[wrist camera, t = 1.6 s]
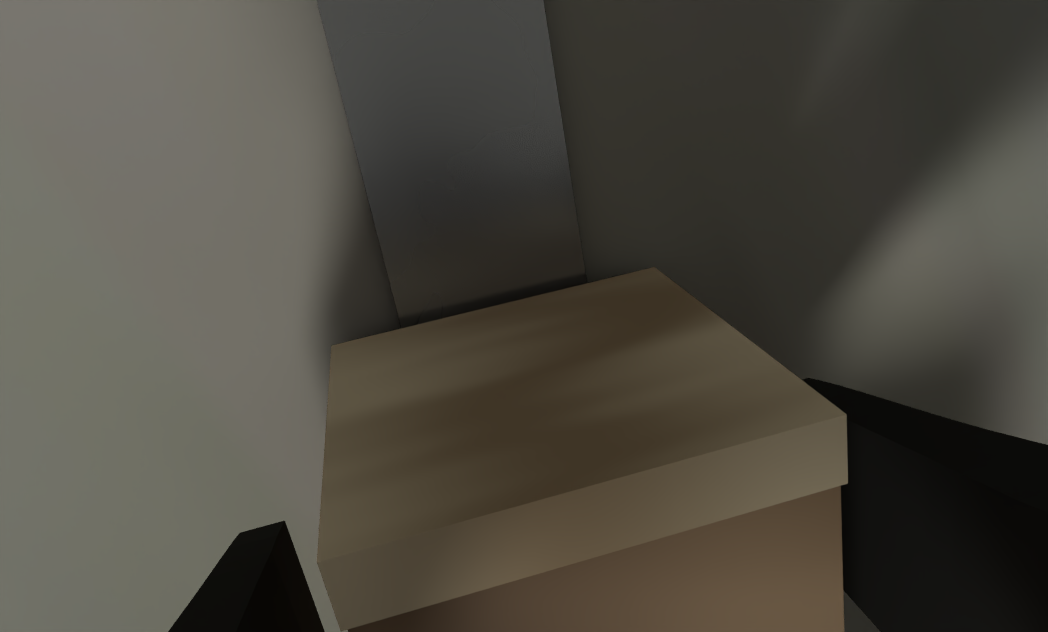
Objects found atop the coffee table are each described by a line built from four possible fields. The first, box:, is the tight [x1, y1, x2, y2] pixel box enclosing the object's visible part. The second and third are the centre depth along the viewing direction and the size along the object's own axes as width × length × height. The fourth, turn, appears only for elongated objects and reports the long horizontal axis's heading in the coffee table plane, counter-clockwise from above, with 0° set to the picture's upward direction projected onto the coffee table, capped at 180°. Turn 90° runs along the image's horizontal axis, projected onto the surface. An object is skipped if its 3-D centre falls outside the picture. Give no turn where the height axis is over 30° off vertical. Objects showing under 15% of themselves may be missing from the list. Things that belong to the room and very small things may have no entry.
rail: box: [317, 0, 587, 328], centre depth 14 cm, size 3×30×1 cm, turn 10°
